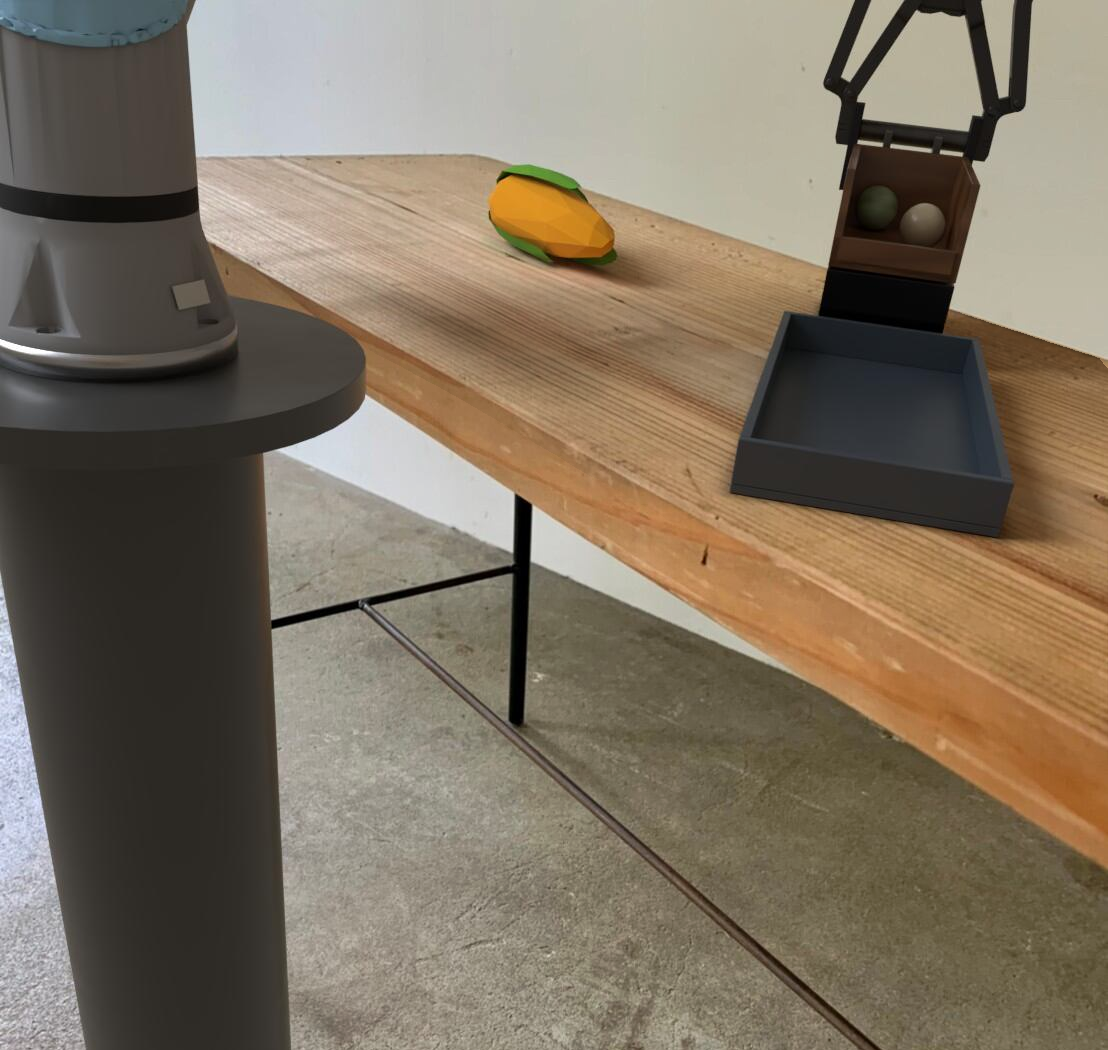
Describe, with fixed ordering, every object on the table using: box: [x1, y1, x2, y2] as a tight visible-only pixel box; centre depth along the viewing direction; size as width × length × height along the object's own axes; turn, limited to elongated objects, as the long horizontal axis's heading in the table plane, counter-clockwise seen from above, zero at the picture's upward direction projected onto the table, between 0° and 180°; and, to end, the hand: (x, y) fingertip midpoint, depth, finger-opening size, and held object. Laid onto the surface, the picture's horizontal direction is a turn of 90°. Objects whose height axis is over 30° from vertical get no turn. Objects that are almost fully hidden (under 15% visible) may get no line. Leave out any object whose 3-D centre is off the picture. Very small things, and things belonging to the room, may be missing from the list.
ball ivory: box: [899, 203, 945, 248], centre depth 93 cm, size 3×3×3 cm
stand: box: [817, 265, 955, 334], centre depth 97 cm, size 17×9×6 cm, turn 166°
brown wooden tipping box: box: [827, 118, 981, 285], centre depth 94 cm, size 21×9×8 cm, turn 166°
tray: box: [729, 310, 1015, 538], centre depth 76 cm, size 31×14×3 cm, turn 166°
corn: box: [488, 163, 618, 266], centre depth 110 cm, size 7×8×20 cm
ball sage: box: [855, 185, 898, 231], centre depth 99 cm, size 3×3×3 cm
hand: (899, 195), depth 103 cm, fingers closed on brown wooden tipping box, 9 cm apart
